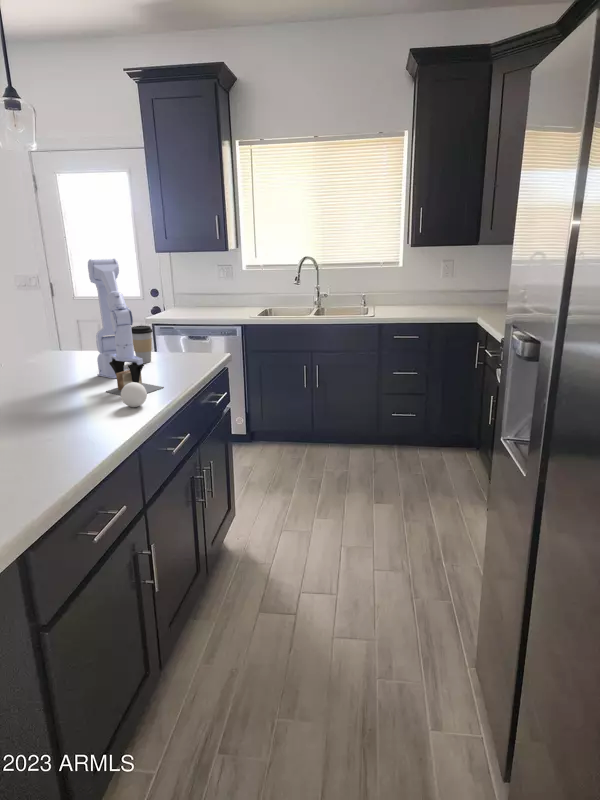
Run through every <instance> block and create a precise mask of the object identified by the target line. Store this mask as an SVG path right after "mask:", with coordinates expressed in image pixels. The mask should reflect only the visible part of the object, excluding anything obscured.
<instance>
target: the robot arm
mask: <svg viewBox="0 0 600 800" xmlns="http://www.w3.org/2000/svg"><path fill="white" fill-rule="evenodd" d="M119 266H120V265H119V262H118V261H117V259H116V258H109V259H107V258H105V259H104V258H103V259H92V258H91V259H89V260H88V261H87V269H88V270H87V271H88V277H89V281H90V283H92V284H94V285H95V286H96V291H97V297H98V304H99V310H100V317H101V324H102V325H101V326H102V328H100V330H98V331H97V333H96V336H95V337H96V348H97V351H98V352H99V353H98V356H97V361H96V362H97V367H98V373H97V374H96V376H97V377H103V378H107V379H108V378H109V379H117V376H116V373H119V372H123V371H125V363H130V364H128V365H127V368H128V370H130V372H131V376H132V382H136V383H139V378H140V373H141V374H142V370H143V368H144V366H145V363H143V358H139V357H137V356H136V355H135V351H134V346H133V339H132V329H131V327H132V326H133V323H134V317H133V314H132V310H131V308H129V307H130V306H128V305H127V303H126V301H125V297H124V294H123V293H121V292H120V291H119V288H118V283H117V278H118V276H119V273H120V267H119Z"/></svg>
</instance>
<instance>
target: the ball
mask: <svg viewBox="0 0 600 800" xmlns="http://www.w3.org/2000/svg"><path fill="white" fill-rule="evenodd" d="M147 396H148V394H147V392H146V389H145V388H144V386H143V385H141V384H139V383H136V382H131V383H128V384H126V385H125V386H124V387H123V389H122V391H121V395H120V397H121V400H122V402H123V404H124V405H125V406H128V407H131V408H136V407H140V406H142V405H143V404H144V403H145V402H146V399H147Z"/></svg>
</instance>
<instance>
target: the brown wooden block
mask: <svg viewBox="0 0 600 800" xmlns="http://www.w3.org/2000/svg"><path fill="white" fill-rule="evenodd" d="M116 376H117V378H116V382H117V383H116V384H117V388H118V390H122V389H123V387H124V386H125V385H126V384H128V383H131V382H132V376H131V372H130V370H129V369H127V370H124V371H123V372H119V373H116ZM142 383H143V381H142V372H141V373H140V378H139V384H141V385H142Z"/></svg>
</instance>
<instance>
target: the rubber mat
mask: <svg viewBox="0 0 600 800" xmlns="http://www.w3.org/2000/svg"><path fill="white" fill-rule="evenodd" d="M142 385H143V386H144V388H145V389H146V392H147V395H148V394H150V393H153V392H157V391H159V390H162V389H164V388H165V387H164V386H159V385H156V384H155V385H154V384H150V383H144V382H142ZM161 388H162V389H161ZM121 391H122V390H118V387H116V388H112V389H109V390H106V391H105V393H107V394H108V393H109V394H112V395H117V396H121Z"/></svg>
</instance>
